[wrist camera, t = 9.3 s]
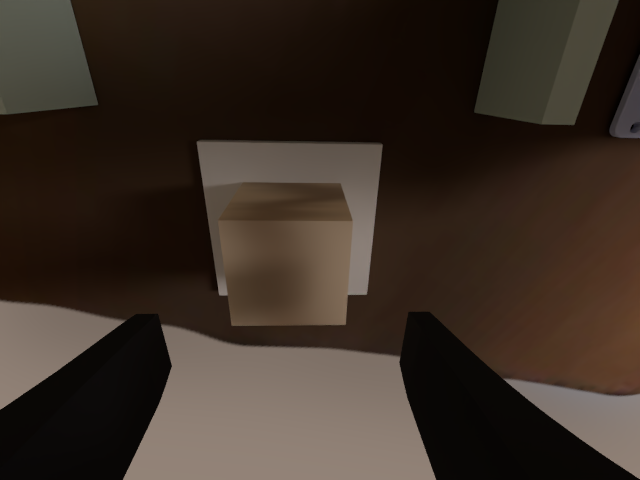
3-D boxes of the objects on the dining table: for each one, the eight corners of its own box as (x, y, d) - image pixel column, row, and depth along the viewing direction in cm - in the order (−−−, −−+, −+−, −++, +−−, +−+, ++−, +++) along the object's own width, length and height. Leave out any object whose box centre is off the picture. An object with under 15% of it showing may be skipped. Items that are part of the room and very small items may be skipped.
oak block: (340, 183, 16) (353, 221, 12) (336, 266, 18) (345, 324, 14) (242, 182, 16) (217, 220, 12) (250, 266, 18) (231, 325, 14)
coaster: (380, 142, 16) (382, 144, 15) (365, 288, 20) (366, 294, 19) (200, 139, 16) (196, 141, 15) (221, 289, 20) (219, 295, 19)
